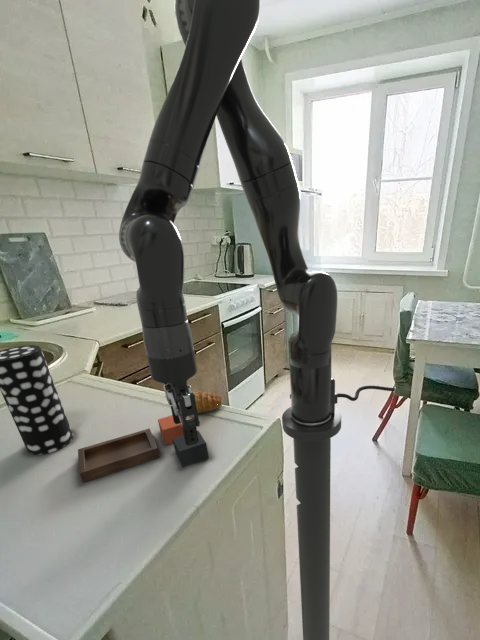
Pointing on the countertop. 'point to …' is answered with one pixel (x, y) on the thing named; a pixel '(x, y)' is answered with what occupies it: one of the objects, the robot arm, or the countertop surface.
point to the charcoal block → (190, 450)
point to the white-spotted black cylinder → (33, 399)
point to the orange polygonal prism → (169, 429)
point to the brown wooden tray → (116, 455)
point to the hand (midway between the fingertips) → (185, 432)
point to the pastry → (207, 401)
